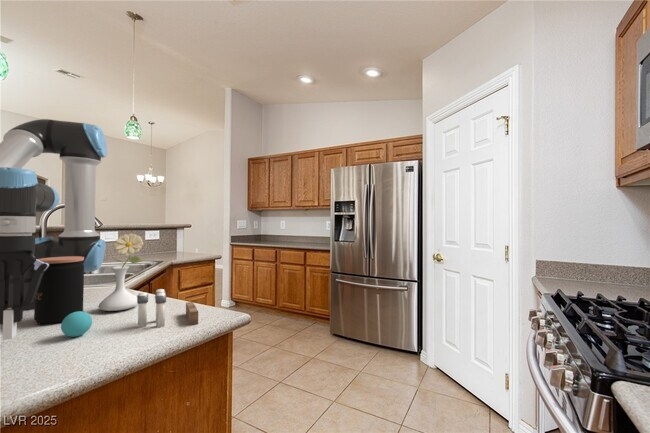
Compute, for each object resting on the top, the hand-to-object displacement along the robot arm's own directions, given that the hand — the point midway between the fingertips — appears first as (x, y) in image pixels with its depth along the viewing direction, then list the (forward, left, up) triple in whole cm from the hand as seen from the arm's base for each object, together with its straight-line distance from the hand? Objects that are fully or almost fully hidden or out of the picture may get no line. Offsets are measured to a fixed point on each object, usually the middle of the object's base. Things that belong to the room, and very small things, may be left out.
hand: (9, 337), depth 68 cm
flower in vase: (-23, +20, -2) cm, 31 cm away
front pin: (0, +26, -2) cm, 26 cm away
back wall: (0, +39, -2) cm, 39 cm away
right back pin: (+2, +30, -2) cm, 30 cm away
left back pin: (-3, +30, -2) cm, 30 cm away
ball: (0, +12, +1) cm, 12 cm away
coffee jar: (-19, +5, -2) cm, 20 cm away
